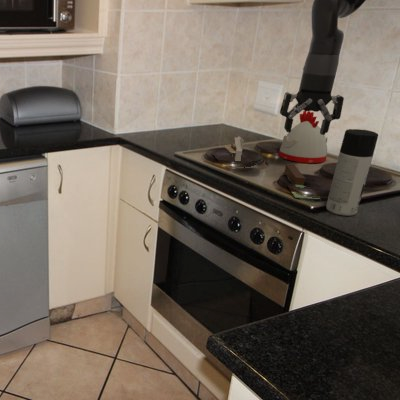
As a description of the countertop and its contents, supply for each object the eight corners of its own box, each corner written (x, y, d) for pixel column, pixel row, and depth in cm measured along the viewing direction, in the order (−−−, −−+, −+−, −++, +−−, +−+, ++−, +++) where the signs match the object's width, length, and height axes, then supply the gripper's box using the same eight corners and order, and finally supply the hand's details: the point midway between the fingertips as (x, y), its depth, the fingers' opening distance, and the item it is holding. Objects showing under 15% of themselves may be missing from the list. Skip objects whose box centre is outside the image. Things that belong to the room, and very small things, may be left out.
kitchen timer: (306, 150, 166) (314, 107, 160) (335, 161, 153) (346, 114, 148) (270, 152, 164) (277, 108, 158) (296, 163, 151) (305, 116, 146)
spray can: (361, 218, 114) (385, 136, 106) (330, 215, 115) (352, 134, 107) (349, 207, 120) (371, 129, 112) (320, 205, 121) (340, 127, 113)
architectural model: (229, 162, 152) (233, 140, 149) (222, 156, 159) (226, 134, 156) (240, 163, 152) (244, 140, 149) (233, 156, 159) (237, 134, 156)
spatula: (277, 173, 144) (279, 163, 142) (299, 174, 142) (301, 165, 141) (294, 198, 125) (297, 188, 123) (319, 201, 123) (322, 190, 122)
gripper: (293, 72, 121) (279, 134, 128) (355, 75, 118) (338, 138, 125) (286, 68, 128) (273, 127, 134) (344, 71, 125) (329, 131, 131)
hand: (305, 133), depth 129 cm, fingers open, 8 cm apart
